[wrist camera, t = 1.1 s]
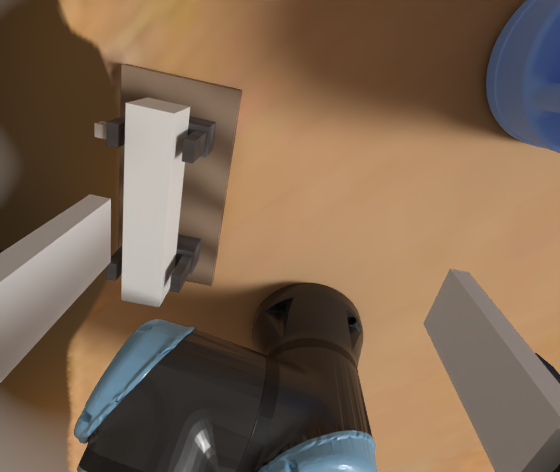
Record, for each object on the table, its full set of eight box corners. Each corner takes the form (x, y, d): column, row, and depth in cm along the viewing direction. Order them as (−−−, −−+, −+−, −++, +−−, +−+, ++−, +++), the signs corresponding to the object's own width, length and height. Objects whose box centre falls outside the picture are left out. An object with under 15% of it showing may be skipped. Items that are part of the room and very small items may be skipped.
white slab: (173, 281, 43) (159, 307, 38) (139, 275, 43) (121, 300, 38) (190, 106, 34) (174, 113, 30) (147, 97, 34) (125, 102, 30)
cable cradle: (213, 279, 49) (195, 326, 40) (123, 261, 48) (85, 305, 39) (242, 90, 38) (227, 98, 30) (127, 64, 38) (78, 65, 29)
